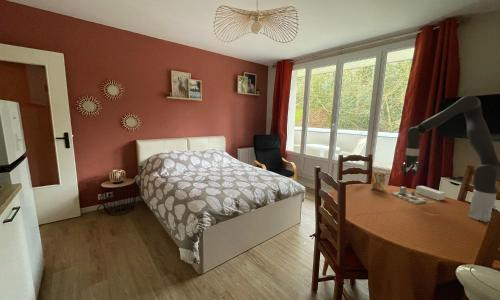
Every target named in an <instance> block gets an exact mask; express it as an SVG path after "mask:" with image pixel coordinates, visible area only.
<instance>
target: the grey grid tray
mask: <svg viewBox="0 0 500 300" xmlns="http://www.w3.org/2000/svg"><path fill="white" fill-rule="evenodd" d="M406 193H407V194H410V195H413V196H415V197H418V198H421V199H423V200H426V203H427V204H431V203H432V204H433V203H436V201H435V200H432V199H431V198H430V199H429V198H428V197H425V196H424V197H423V196H422V195H418V194H417V193H416V190H415V191H414V190H411V192H410V191H406Z"/></svg>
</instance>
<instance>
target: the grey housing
mask: <svg viewBox="0 0 500 300" xmlns="http://www.w3.org/2000/svg"><path fill="white" fill-rule="evenodd" d="M415 194H419V195H420V196H424V197H426V198H430V199H434V200H436V201H442V200H445V196H446V192H443V191H440V190H437V189H435V188H434V189H433V188H432V187H428V186H424V185H417V186H416V187H415Z"/></svg>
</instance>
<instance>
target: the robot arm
mask: <svg viewBox="0 0 500 300" xmlns="http://www.w3.org/2000/svg"><path fill="white" fill-rule="evenodd" d="M462 113H463V115H464V118H465V120H466V121H465V122H466V135H467V138H468V142H469V145H470V146H471V148H472V149H473V150H474V151H475V153H476V154H477V155H478V157H479V160H480V165H478V166H477V167H476V168H475V170H474V174H473V175H474V176H473V180H472V181H473V182H472V184H473V190H472V194H471V195H472V196H471V200H470V202H471V203H470V206H469V211H468V217H470V218H471V219H474V220H476V221H479V220H480V221H481V222H483V223H490V222H489V220H490V217H491V212H492V208H494V209H495V210H496V208H497V205H495V203H496V197H497V195H498V194H497V193H498V188H497V187H496V183H497V180H500V160H499V158H498V156H497V153H496V149H495V146H494V142H493V138H492V136H491V133H490V130H489V127H488V124H487V122H486V120H485V118H484V115H483V111H482V104H481V99H480V98H478V97H477V96H474V95H470V94H469V95H465V96H463V97H461V98H460V99H459V100H457V101H456V102H454V103H453V104H452V105H450V106H448V107H447V108H446V109H444V110H443V111H440V112H439V113H437V114H435V115H433V116H431V117H428V118H427V119H425V120H423V121H422V122H421V123H420V124H418V125H415V126H412V127H410V128H409V129H408V130H407V134H406V135H407V136H406V137H407V142H406V143H407V144H406V150H405V158H404V160H405V162H402V163H401V170H400V171H402V172H403V173H402V174H403V178H404V177H405V178H407V176H408V171H410V170H411V171H412V173H411V176H412V177H416V176H417V172H418V171H419V170H420V164H421V163H420V162H419V154H420V141H419V140H420V136H422V135H424V134H426V133H427V132H428V131H430V130H432V129H435V128H436V127H439V126H440V125H443V123H445V122H447V121H448V120H450V119H451V118H453V117H455V116H456V115H457V116H458V115H459V114H462ZM480 221H479V222H480Z"/></svg>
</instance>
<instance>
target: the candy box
mask: <svg viewBox="0 0 500 300" xmlns="http://www.w3.org/2000/svg"><path fill="white" fill-rule="evenodd" d="M386 177H387V172H384V171H381V170H379V171H378V170H373V171H372V173H371V184H370V190H372V189H373V190H379V191H384V190H385V185H386Z"/></svg>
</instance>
